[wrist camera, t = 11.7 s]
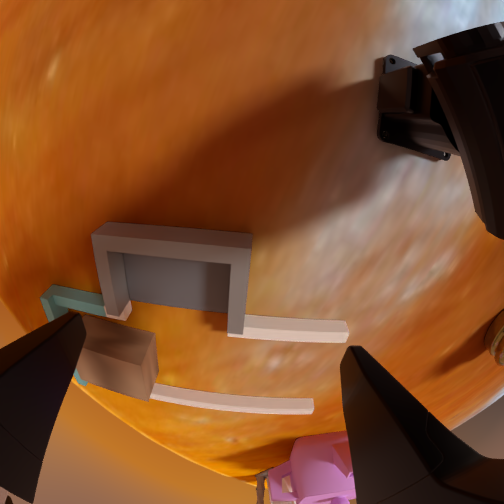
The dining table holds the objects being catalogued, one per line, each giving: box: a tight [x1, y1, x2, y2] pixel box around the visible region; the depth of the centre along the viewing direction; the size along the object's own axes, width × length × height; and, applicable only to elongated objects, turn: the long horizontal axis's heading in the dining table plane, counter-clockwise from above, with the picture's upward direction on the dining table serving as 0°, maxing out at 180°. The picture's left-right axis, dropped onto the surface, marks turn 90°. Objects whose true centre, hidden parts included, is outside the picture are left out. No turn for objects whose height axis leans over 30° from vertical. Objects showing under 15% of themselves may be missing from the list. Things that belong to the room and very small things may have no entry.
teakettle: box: [268, 430, 356, 504], centre depth 30 cm, size 17×17×12 cm
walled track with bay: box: [40, 222, 349, 414], centre depth 23 cm, size 29×21×2 cm
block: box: [76, 314, 159, 401], centre depth 23 cm, size 8×6×4 cm
